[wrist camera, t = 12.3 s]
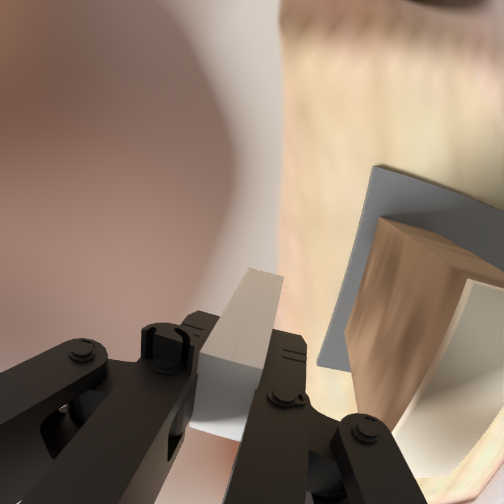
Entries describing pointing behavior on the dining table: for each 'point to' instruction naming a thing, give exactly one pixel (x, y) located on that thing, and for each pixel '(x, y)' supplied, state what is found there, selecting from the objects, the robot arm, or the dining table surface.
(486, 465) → the dining table surface
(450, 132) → the dining table surface
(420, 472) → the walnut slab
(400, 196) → the felt pad
